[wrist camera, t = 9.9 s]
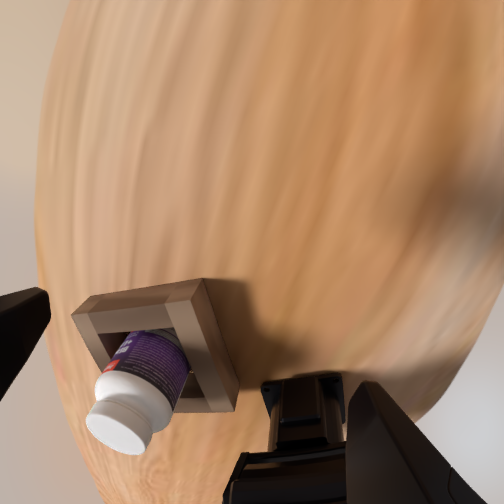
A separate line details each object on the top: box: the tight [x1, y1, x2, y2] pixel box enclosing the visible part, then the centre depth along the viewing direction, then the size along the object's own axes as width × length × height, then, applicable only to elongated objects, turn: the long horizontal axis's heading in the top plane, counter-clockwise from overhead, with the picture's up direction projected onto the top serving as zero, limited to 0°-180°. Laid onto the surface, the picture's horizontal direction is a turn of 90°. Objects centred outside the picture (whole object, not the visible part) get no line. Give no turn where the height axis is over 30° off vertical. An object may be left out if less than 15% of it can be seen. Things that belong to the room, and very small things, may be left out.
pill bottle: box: [86, 327, 191, 455], centre depth 19 cm, size 5×5×10 cm
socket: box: [71, 278, 240, 413], centre depth 23 cm, size 10×10×3 cm
